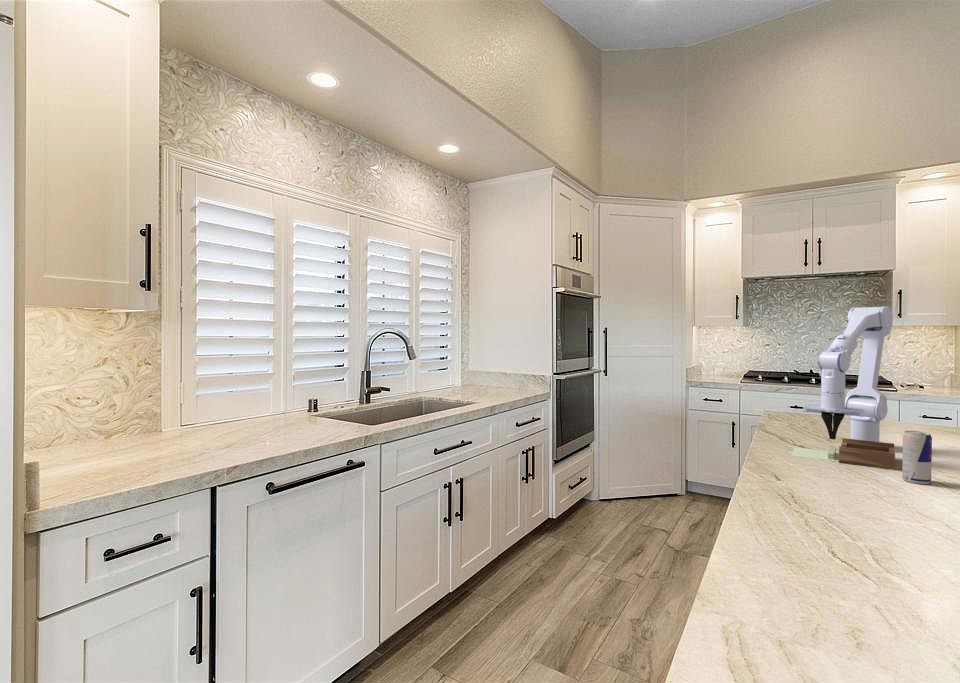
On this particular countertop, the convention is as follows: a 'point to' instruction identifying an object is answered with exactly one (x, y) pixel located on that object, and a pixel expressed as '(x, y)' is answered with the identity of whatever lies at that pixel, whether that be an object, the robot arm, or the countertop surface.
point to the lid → (817, 454)
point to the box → (867, 453)
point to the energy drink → (917, 457)
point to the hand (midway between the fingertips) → (832, 438)
